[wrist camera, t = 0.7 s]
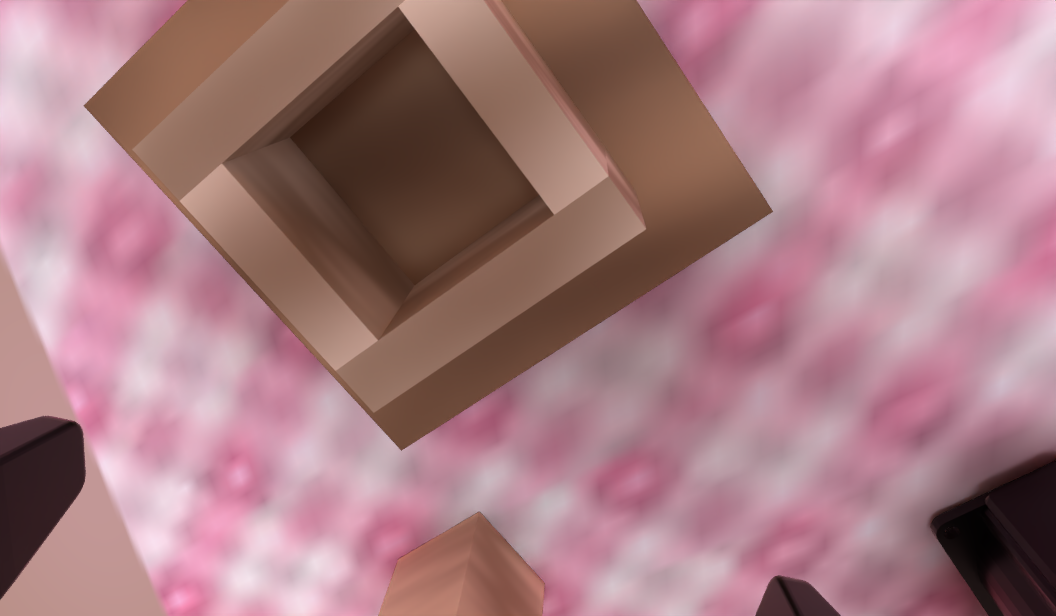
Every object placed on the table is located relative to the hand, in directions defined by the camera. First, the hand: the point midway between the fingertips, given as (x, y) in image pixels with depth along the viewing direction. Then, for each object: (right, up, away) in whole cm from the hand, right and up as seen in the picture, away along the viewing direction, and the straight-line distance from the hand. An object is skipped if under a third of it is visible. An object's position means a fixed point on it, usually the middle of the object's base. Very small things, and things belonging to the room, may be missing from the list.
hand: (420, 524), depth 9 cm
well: (-1, +7, +12) cm, 14 cm away
